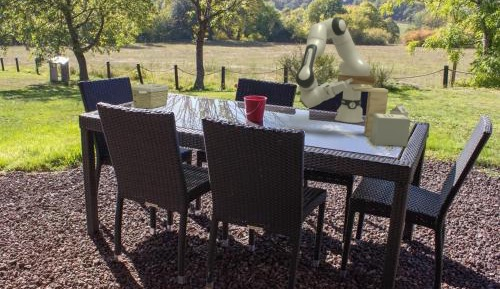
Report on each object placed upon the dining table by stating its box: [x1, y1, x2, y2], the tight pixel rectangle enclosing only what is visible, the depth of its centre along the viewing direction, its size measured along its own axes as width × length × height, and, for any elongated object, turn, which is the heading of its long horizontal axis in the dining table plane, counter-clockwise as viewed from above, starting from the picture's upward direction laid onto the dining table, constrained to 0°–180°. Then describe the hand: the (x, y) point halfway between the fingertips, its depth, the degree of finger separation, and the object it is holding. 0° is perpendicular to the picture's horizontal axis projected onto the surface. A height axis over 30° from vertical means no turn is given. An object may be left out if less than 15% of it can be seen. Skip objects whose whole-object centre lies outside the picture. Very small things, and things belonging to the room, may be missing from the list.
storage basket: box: [131, 83, 170, 110], centre depth 322 cm, size 24×16×15 cm
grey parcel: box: [370, 114, 411, 147], centre depth 242 cm, size 12×16×14 cm
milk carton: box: [389, 103, 409, 118], centre depth 253 cm, size 7×7×19 cm
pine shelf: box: [352, 86, 389, 138], centre depth 257 cm, size 9×18×26 cm, turn 87°
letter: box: [376, 113, 409, 119], centre depth 240 cm, size 11×14×1 cm
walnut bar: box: [337, 73, 375, 86], centre depth 253 cm, size 4×19×4 cm, turn 86°
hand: (351, 78), depth 253 cm, fingers closed on walnut bar, 4 cm apart
